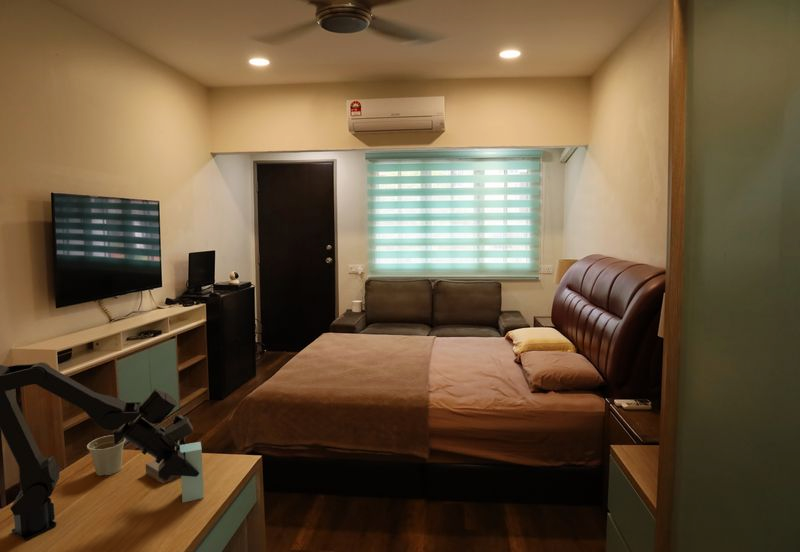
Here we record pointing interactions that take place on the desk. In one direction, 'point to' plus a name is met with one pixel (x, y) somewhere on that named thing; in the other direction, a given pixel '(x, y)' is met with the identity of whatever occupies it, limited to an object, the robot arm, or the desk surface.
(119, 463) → the flower pot
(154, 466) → the base slab
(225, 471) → the desk surface
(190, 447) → the pillar
